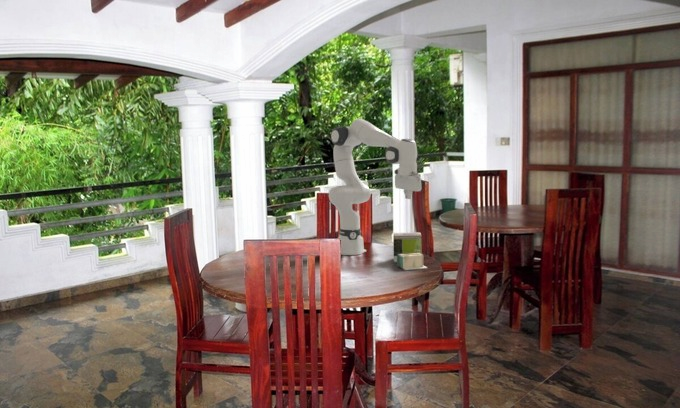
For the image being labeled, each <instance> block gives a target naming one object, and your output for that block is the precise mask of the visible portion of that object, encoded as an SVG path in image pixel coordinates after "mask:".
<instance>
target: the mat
mask: <svg viewBox="0 0 680 408" xmlns="http://www.w3.org/2000/svg"><path fill="white" fill-rule="evenodd" d="M402 269H403V270H404V271H410V270H423V269H428V266H426V265H424V264H423V267H412V268H402Z"/></svg>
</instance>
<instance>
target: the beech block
mask: <svg viewBox="0 0 680 408" xmlns="http://www.w3.org/2000/svg"><path fill="white" fill-rule="evenodd" d="M424 258H425V257H424V254H423V253H422V254H421V253H408V254H397V262H396V265H397V267H399V268H400V269H403V268H412V267H423V265H424V261H425V260H424Z"/></svg>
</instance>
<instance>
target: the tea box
mask: <svg viewBox="0 0 680 408" xmlns="http://www.w3.org/2000/svg"><path fill="white" fill-rule="evenodd" d="M392 239H393V244H392V245H393V263H397V254H408V253H421V254H422V255H423V244H422V243H423V242H422V241H423V239H422V233H421V232H417V231H416V232H393V238H392Z"/></svg>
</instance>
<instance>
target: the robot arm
mask: <svg viewBox="0 0 680 408" xmlns="http://www.w3.org/2000/svg"><path fill="white" fill-rule="evenodd" d="M330 140H331V143H332V144H333V145H334V146H333V164H334V170H335V175H336V176H337V178H338V179H339V180H341V181H343V182H344V184H345V185H344V184H343V185H337V186H335V187H331V188H330V189H329V192H328V200H329V202H330V203H331V204H332V205H334V207H335V208H336V210H337V211H338V214H339V221H340V224H339V225H340V229H339V234H338V237H337V239H338V238H339V239H340V240H341V254H340V255H343V256H356V255H362V254H363V253H366V252H367V249H365V245H364V237H363V236H362V234H361V233H362V229H361V216H360V214H359V213H358V212H357V211H356V210H354V209H353V207H352V205H359V204H363V203H365V202H369V200H370V198H371V195H372V193H371V189H370V188H369V186H368V185H367V184H366V183H364V182H363V181H362V180H361V179H360V178H359V176H358V174H357V170H356V166H355V161H354V157H353V156H354V155H353V149H355V150H357V149H358V148H360V147H361V146H363V145H366V146H368V147H378V148H379V147H381V148H382V147H383V148H386V149H385V152H384V154H385V155H384V156H385V157H384V158H385V160H386V162H387V163H388V164H390V165H398V166H399V167H398V168H396V169H394V171H393V173H394V187H395V189H398V190H399V189H400V190H403V194H404V199H407V200H411V199H412V195H413V192H421V191H422V189H423V188H422V179H421V176H420V174H419V172H418V164H417V159H418V156H419V152H418V147H417V142H416V141H415V140H413V139H411V138H402V139H398V138H396V137H395V136H393V135H391V134H389V133H387V132H385V131H383V130H381V129H380V128H378V127H377V126H375V125H374V124H372V123H371V122H370V121H368V120H365V119H362V118H356V119H354V120H353V121H352V122H351V123H350V126H346V125H343V126H338V127H335V128H333V129H332V131H331V133H330Z"/></svg>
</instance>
